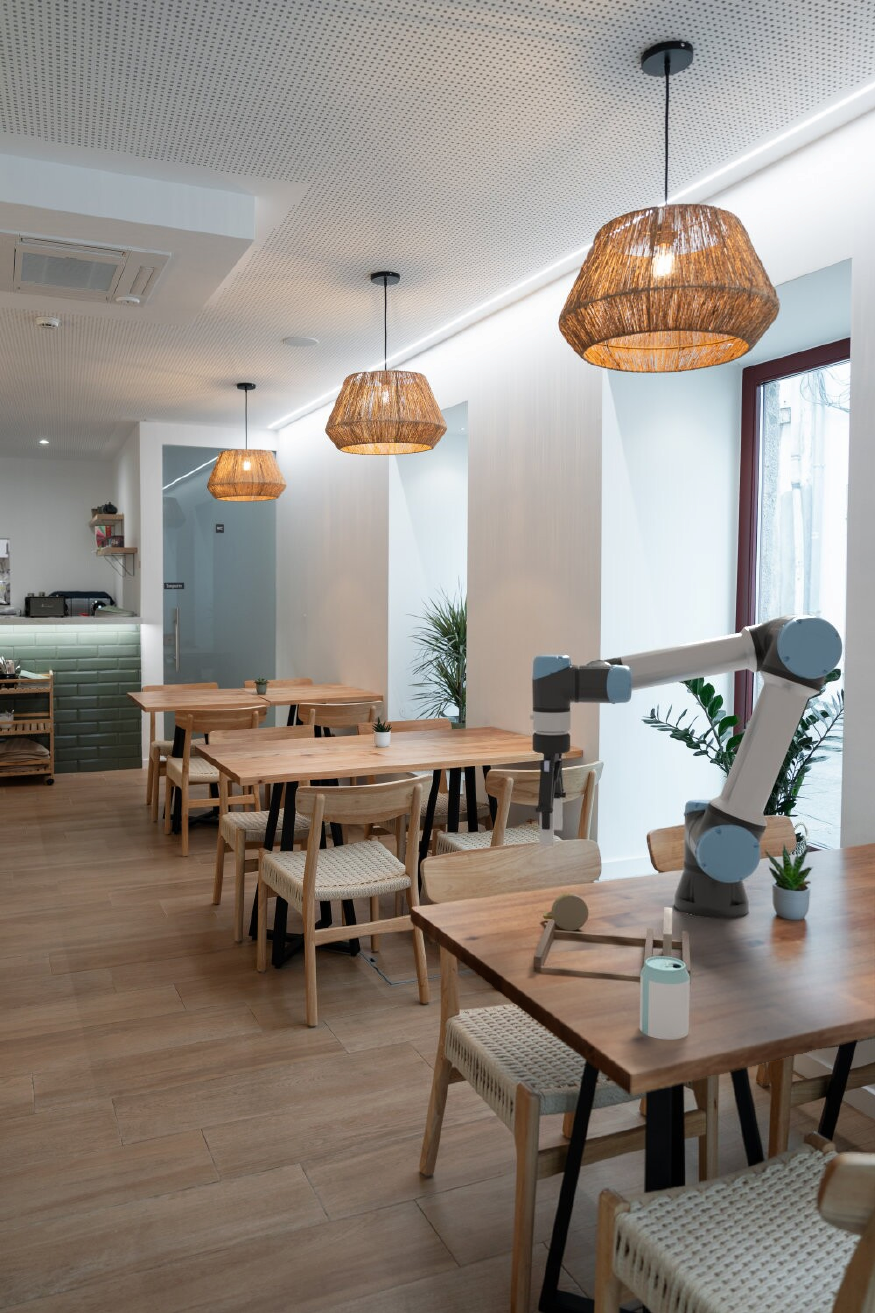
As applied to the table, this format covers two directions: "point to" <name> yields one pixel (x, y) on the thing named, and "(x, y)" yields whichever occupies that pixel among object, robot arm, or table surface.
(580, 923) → the mug
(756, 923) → the table surface
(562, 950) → the rack
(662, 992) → the can
